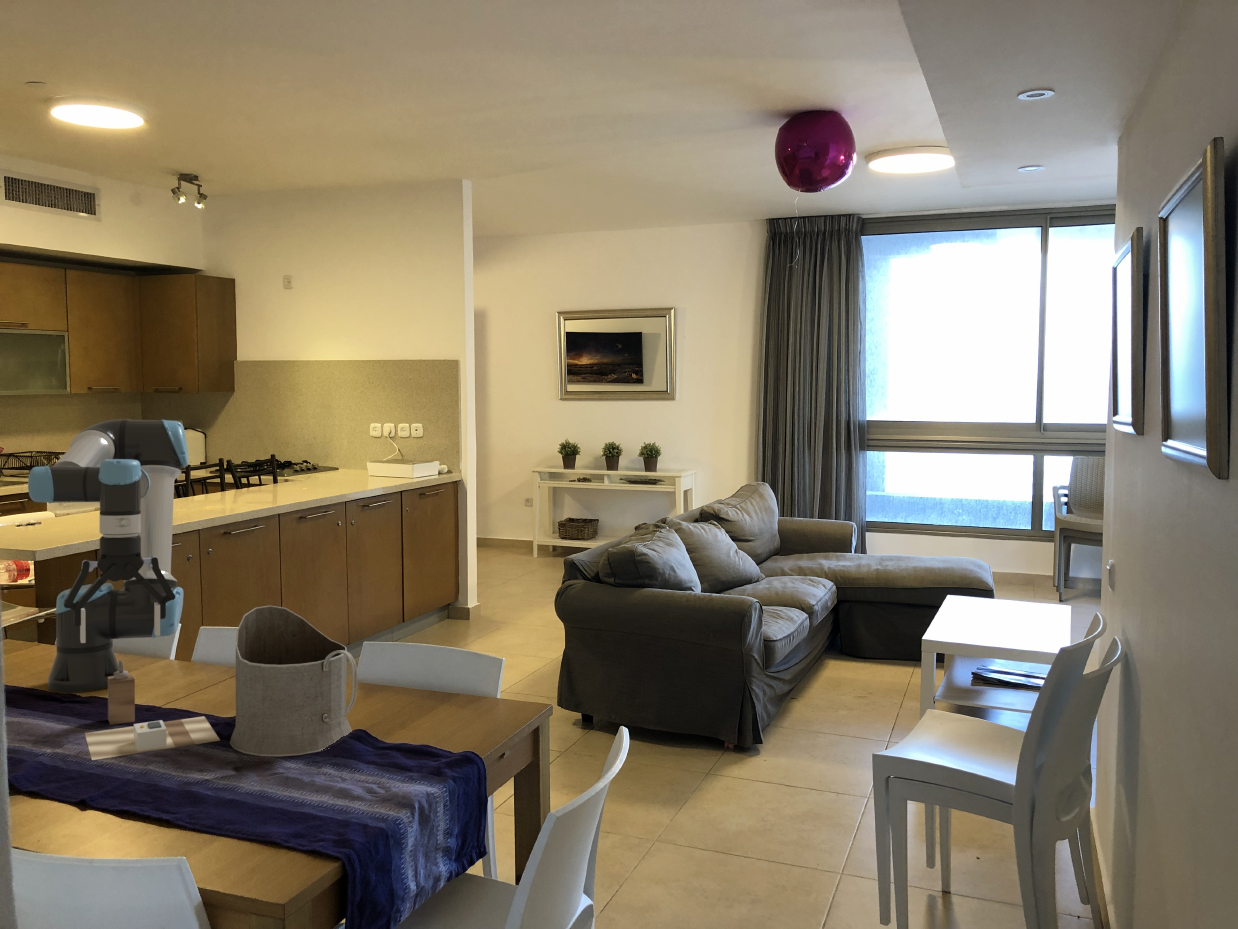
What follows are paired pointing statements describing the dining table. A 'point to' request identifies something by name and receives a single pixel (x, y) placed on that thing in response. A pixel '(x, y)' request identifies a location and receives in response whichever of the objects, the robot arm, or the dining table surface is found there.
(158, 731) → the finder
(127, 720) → the brown upright block
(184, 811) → the dining table surface
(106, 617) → the robot arm
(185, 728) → the subfloor panel
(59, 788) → the dining table surface
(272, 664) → the pitcher
